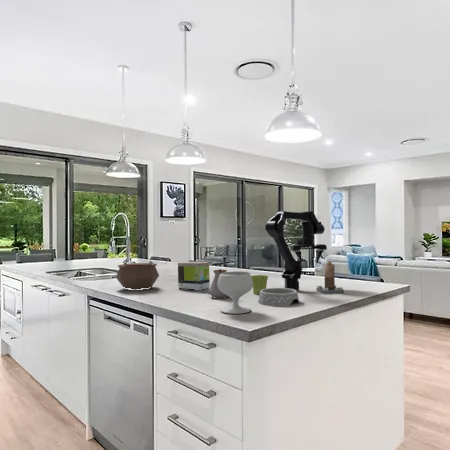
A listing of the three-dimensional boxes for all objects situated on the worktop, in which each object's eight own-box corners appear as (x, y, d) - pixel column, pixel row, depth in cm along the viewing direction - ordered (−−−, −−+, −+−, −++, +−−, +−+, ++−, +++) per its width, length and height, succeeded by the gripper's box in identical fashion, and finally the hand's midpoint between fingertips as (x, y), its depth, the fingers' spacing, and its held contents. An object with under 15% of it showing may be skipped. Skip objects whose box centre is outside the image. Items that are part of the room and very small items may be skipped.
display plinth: (324, 293, 185) (324, 288, 185) (316, 290, 194) (316, 285, 194) (343, 292, 186) (343, 287, 186) (334, 289, 196) (334, 284, 196)
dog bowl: (307, 301, 167) (306, 289, 167) (282, 308, 154) (281, 295, 154) (275, 297, 179) (275, 286, 179) (250, 303, 166) (250, 291, 166)
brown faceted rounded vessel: (106, 290, 211) (106, 260, 211) (139, 284, 231) (138, 257, 231) (136, 293, 197) (135, 262, 198) (168, 287, 217) (167, 258, 217)
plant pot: (246, 293, 190) (245, 276, 190) (257, 291, 196) (257, 274, 197) (261, 295, 183) (260, 277, 183) (272, 293, 190) (272, 275, 190)
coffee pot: (209, 295, 187) (208, 265, 188) (232, 294, 187) (231, 264, 188) (207, 303, 166) (206, 269, 166) (233, 303, 166) (233, 268, 166)
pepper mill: (331, 289, 187) (331, 261, 187) (322, 288, 190) (322, 261, 191) (336, 288, 190) (336, 261, 190) (328, 287, 194) (327, 260, 194)
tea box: (210, 288, 210) (209, 261, 210) (199, 291, 202) (199, 263, 202) (188, 286, 218) (188, 261, 218) (177, 289, 210) (177, 262, 210)
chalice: (260, 311, 148) (260, 273, 148) (232, 317, 140) (231, 276, 140) (239, 306, 159) (238, 270, 159) (211, 310, 151) (210, 273, 151)
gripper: (318, 234, 214) (319, 261, 214) (286, 234, 211) (287, 263, 211) (326, 234, 203) (327, 263, 203) (293, 235, 200) (294, 264, 200)
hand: (308, 263), depth 204 cm, fingers open, 9 cm apart
